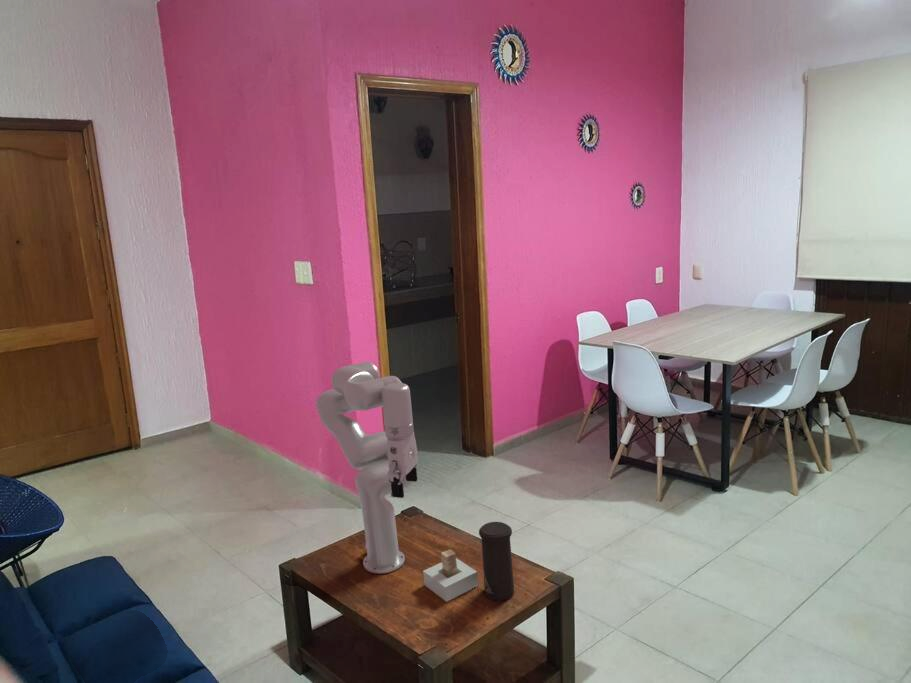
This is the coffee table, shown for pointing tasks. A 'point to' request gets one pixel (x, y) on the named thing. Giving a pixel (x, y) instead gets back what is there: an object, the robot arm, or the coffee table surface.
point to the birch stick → (449, 563)
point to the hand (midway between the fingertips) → (405, 488)
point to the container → (497, 560)
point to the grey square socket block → (450, 580)
